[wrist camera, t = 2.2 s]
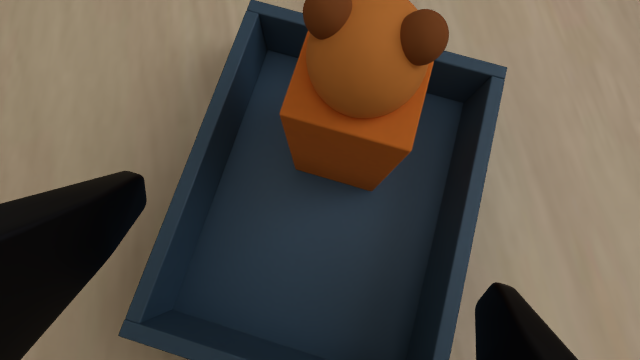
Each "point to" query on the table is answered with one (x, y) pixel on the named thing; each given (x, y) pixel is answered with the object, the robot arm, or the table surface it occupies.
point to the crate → (315, 223)
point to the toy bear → (360, 87)
